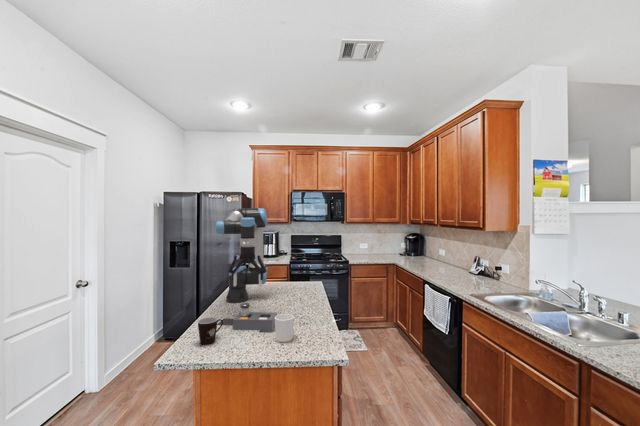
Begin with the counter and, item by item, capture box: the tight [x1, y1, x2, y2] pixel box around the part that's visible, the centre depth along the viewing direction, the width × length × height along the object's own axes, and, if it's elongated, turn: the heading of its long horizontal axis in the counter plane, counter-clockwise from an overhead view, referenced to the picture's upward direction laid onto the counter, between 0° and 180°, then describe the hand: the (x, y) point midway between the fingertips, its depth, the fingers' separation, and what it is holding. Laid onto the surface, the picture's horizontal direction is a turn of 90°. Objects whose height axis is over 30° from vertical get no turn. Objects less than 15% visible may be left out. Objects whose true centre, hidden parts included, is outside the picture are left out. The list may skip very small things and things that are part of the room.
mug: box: [274, 313, 295, 344], centre depth 137 cm, size 11×9×10 cm
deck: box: [217, 318, 234, 326], centre depth 157 cm, size 10×10×1 cm
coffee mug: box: [197, 316, 224, 346], centre depth 134 cm, size 12×9×10 cm
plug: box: [240, 302, 250, 318], centre depth 151 cm, size 5×5×10 cm
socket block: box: [232, 311, 278, 333], centre depth 151 cm, size 12×20×6 cm, turn 87°
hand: (247, 285), depth 154 cm, fingers open, 13 cm apart
